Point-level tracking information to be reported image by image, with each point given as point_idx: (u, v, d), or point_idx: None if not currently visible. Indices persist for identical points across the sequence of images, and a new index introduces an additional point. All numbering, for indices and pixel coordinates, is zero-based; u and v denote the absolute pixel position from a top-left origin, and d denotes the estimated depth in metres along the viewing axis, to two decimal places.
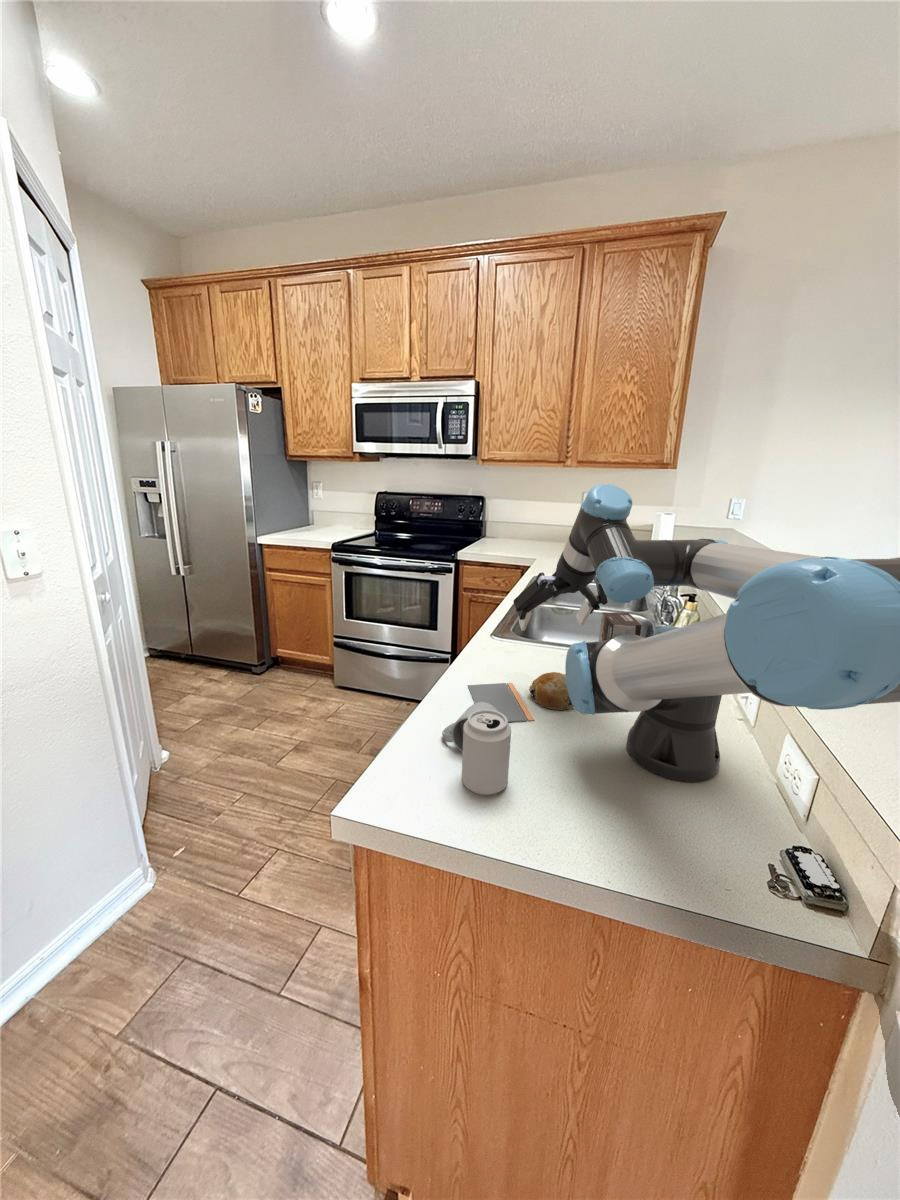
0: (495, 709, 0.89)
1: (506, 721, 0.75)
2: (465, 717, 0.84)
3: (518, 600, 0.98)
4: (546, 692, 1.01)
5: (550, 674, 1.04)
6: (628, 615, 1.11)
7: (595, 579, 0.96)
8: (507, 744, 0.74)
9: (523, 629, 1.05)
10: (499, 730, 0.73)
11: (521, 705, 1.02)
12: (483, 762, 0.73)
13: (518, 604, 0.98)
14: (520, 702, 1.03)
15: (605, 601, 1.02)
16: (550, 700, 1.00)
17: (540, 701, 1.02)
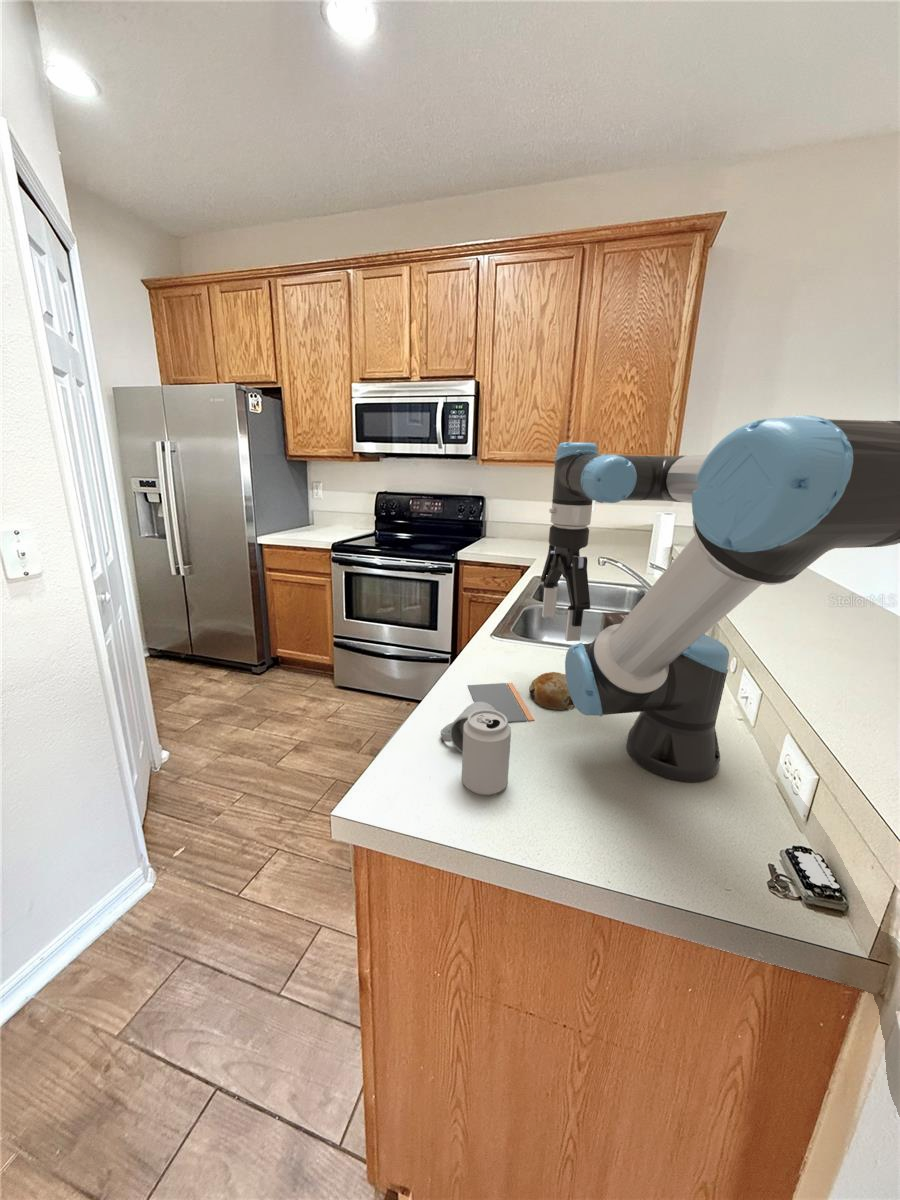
0: (493, 709, 0.89)
1: (506, 721, 0.75)
2: (463, 717, 0.84)
3: (582, 600, 0.89)
4: (545, 692, 1.01)
5: (549, 674, 1.04)
6: None
7: None
8: (507, 744, 0.74)
9: None
10: (499, 730, 0.73)
11: (521, 705, 1.02)
12: (483, 762, 0.73)
13: (586, 601, 0.89)
14: (520, 702, 1.03)
15: None
16: (549, 700, 1.00)
17: (539, 701, 1.02)
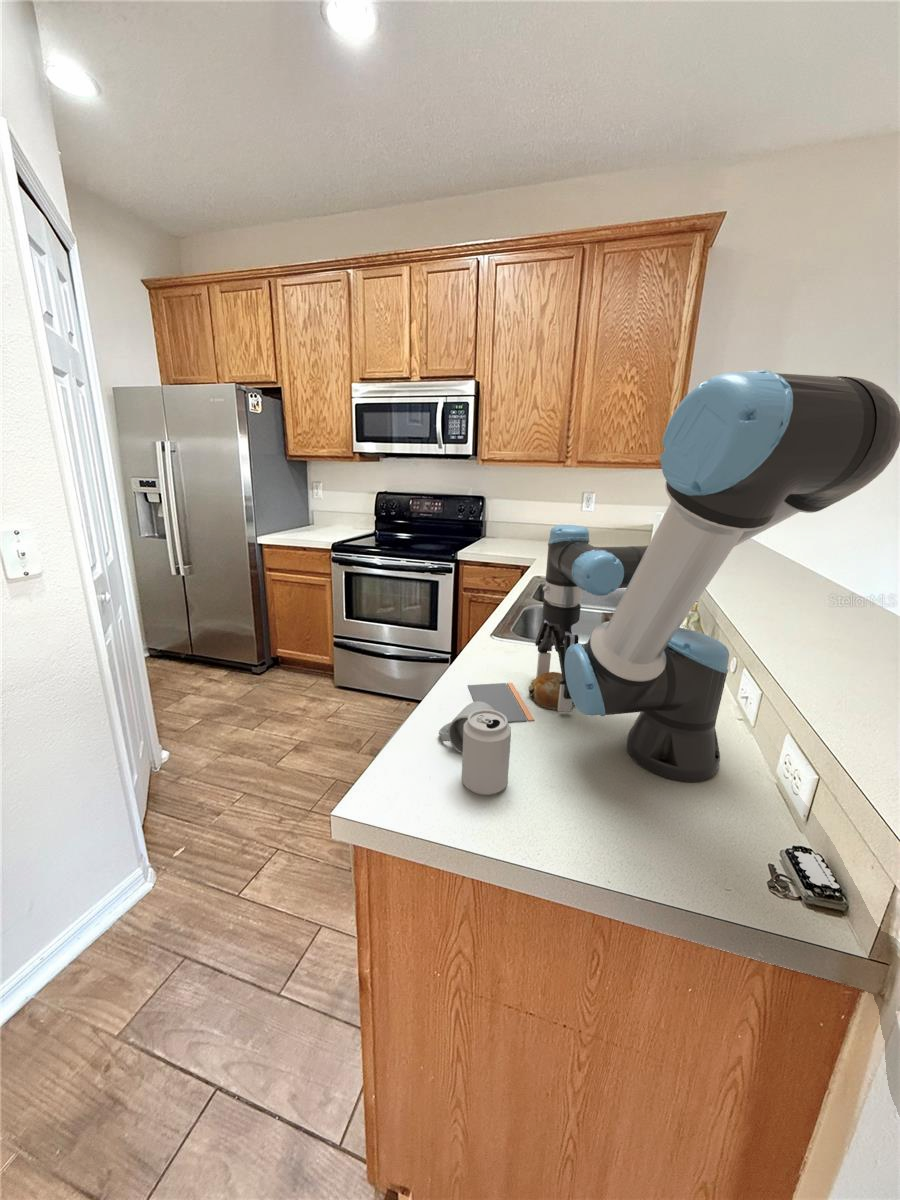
0: (492, 708, 0.89)
1: (506, 721, 0.75)
2: (461, 716, 0.84)
3: None
4: (545, 692, 1.01)
5: (549, 674, 1.04)
6: None
7: None
8: (507, 744, 0.74)
9: None
10: (499, 730, 0.73)
11: (521, 705, 1.02)
12: (483, 762, 0.73)
13: None
14: (520, 702, 1.03)
15: None
16: (549, 700, 1.01)
17: (539, 701, 1.02)
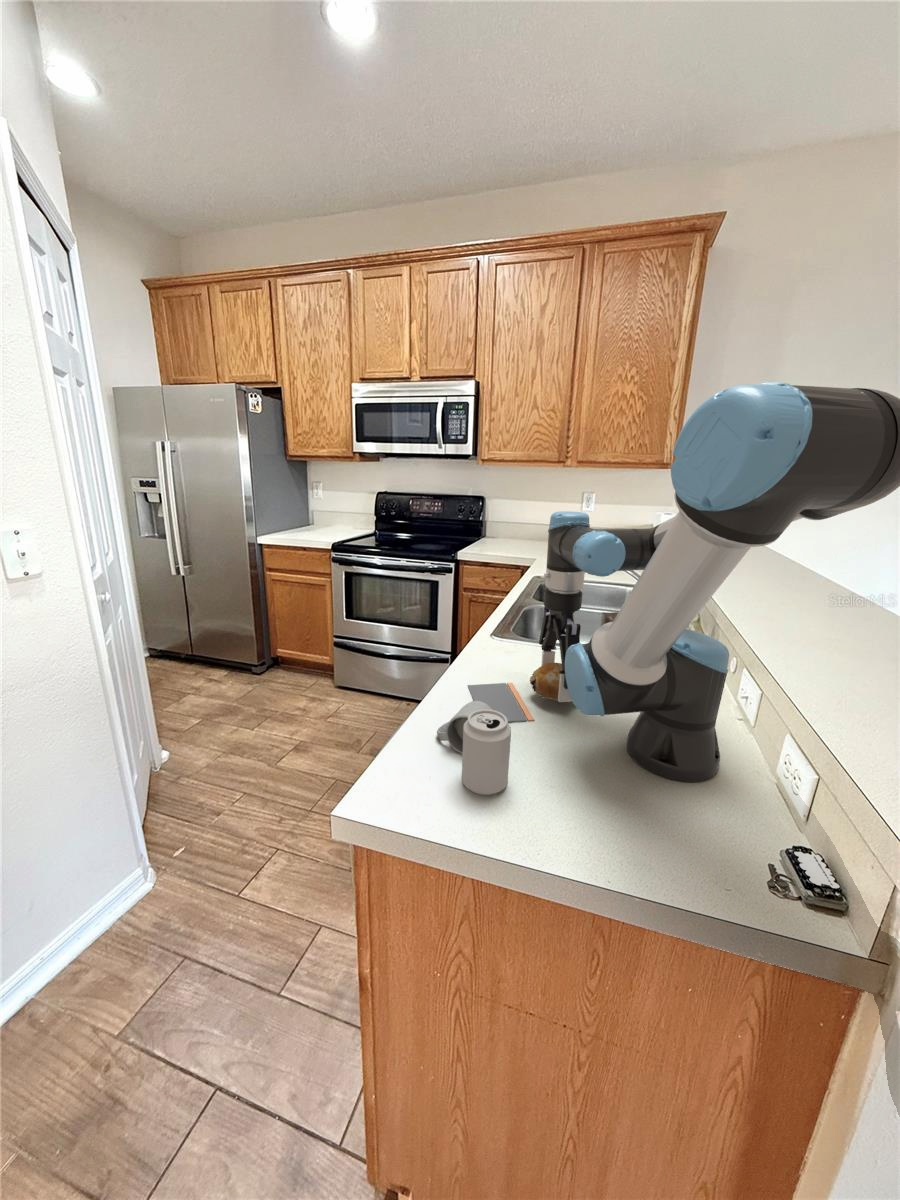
0: (489, 708, 0.89)
1: (506, 721, 0.75)
2: (459, 716, 0.85)
3: None
4: (546, 682, 1.00)
5: (551, 664, 1.03)
6: None
7: None
8: (507, 744, 0.74)
9: None
10: (499, 730, 0.73)
11: (521, 705, 1.02)
12: (483, 762, 0.73)
13: None
14: (520, 702, 1.03)
15: None
16: (551, 690, 0.99)
17: (541, 691, 1.00)
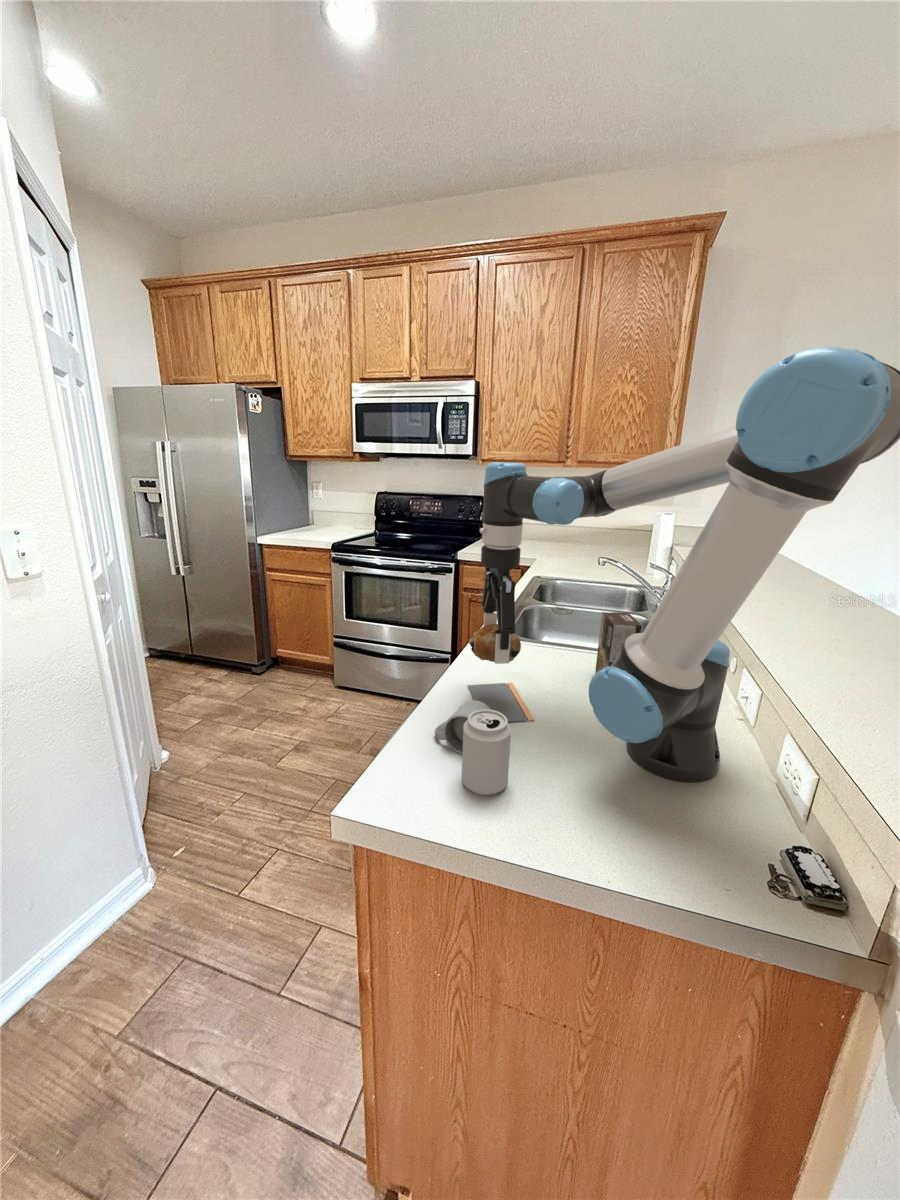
0: (487, 707, 0.89)
1: (506, 721, 0.75)
2: (457, 715, 0.85)
3: (507, 625, 0.89)
4: (483, 643, 0.95)
5: (490, 625, 0.99)
6: (628, 615, 1.11)
7: None
8: (507, 744, 0.74)
9: None
10: (499, 730, 0.73)
11: (521, 705, 1.02)
12: (483, 762, 0.73)
13: (511, 626, 0.90)
14: (520, 702, 1.03)
15: None
16: (487, 651, 0.95)
17: (478, 653, 0.96)
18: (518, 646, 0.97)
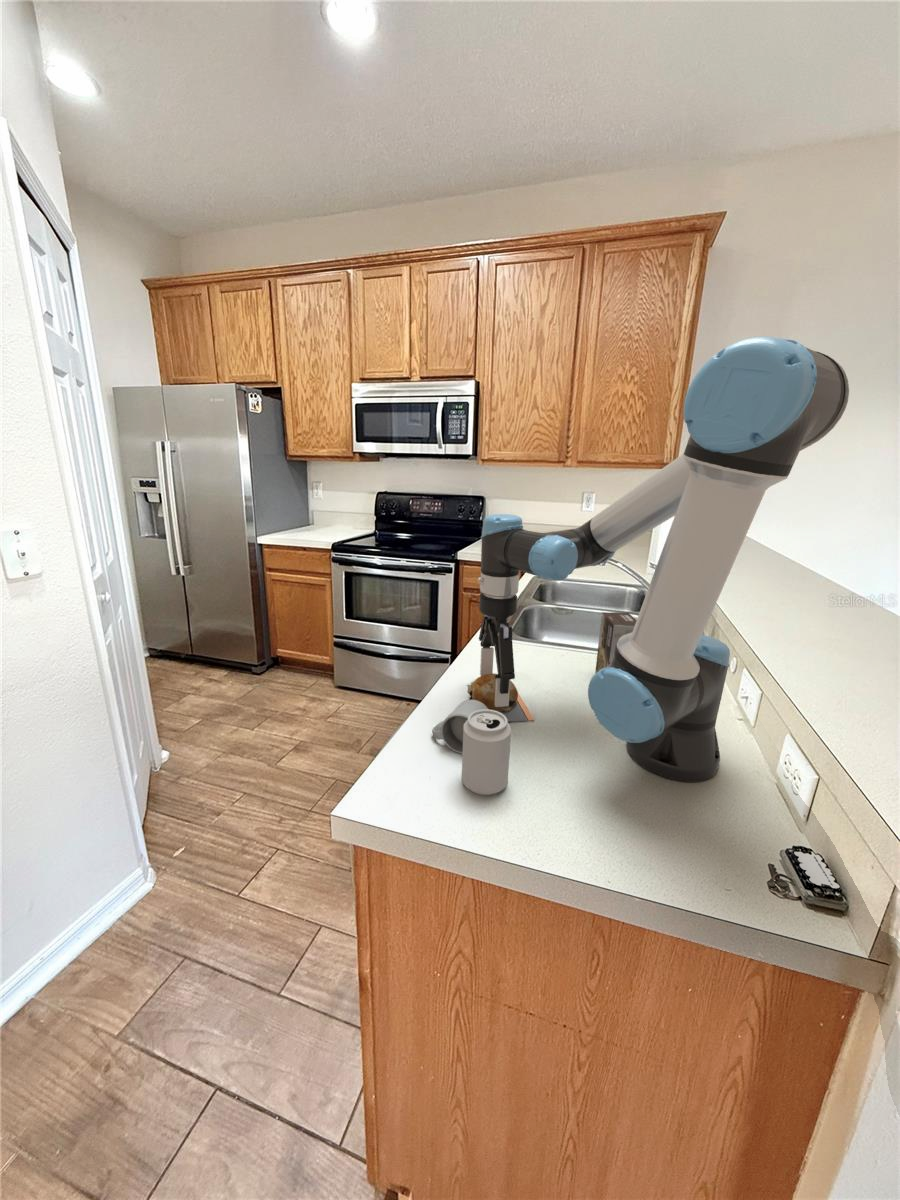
0: (485, 707, 0.90)
1: (506, 721, 0.75)
2: (454, 714, 0.85)
3: (506, 670, 0.91)
4: (481, 694, 0.99)
5: (488, 675, 1.02)
6: (628, 615, 1.11)
7: None
8: (507, 744, 0.74)
9: None
10: (499, 730, 0.73)
11: (521, 705, 1.02)
12: (483, 762, 0.73)
13: (510, 671, 0.91)
14: (520, 702, 1.03)
15: None
16: (485, 702, 0.98)
17: None
18: (515, 696, 1.01)
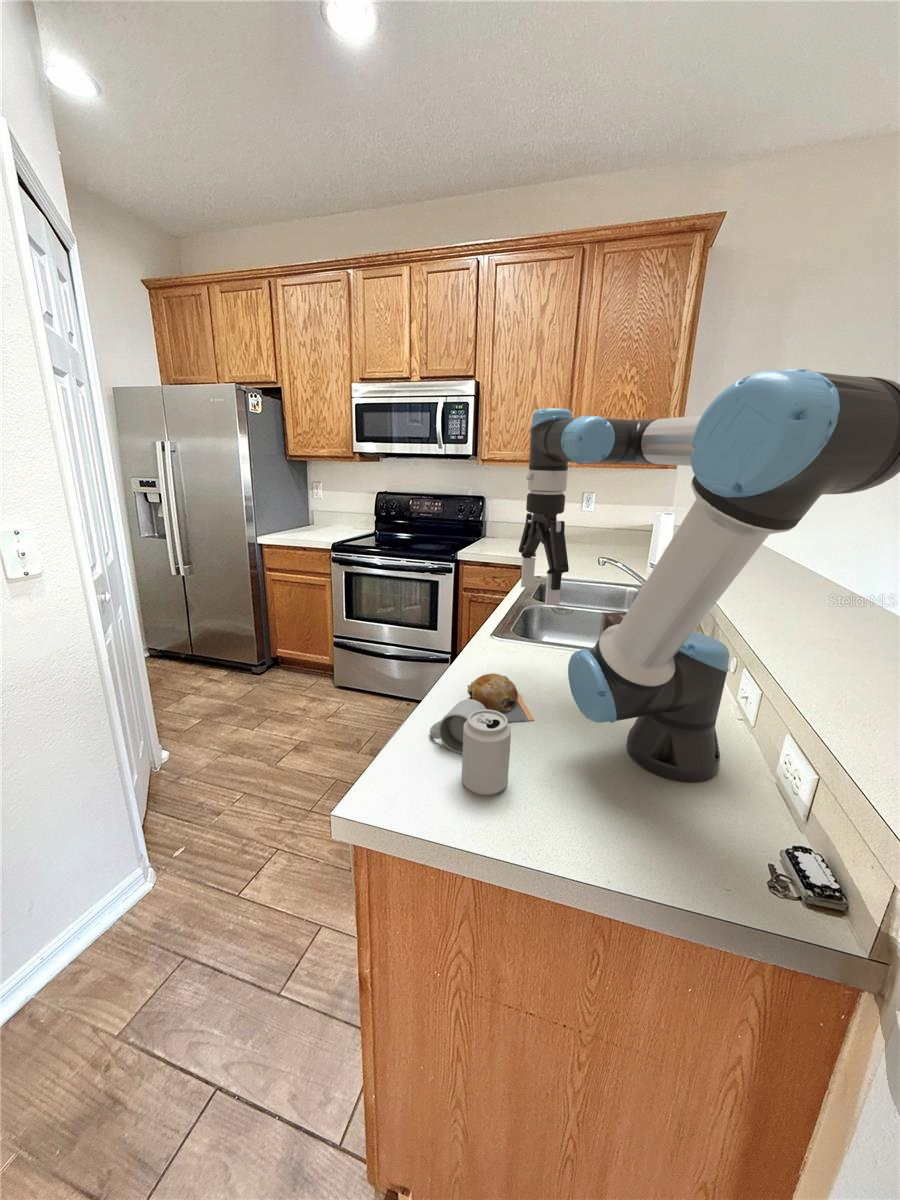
0: (482, 706, 0.90)
1: (506, 721, 0.75)
2: (452, 714, 0.85)
3: (560, 562, 0.91)
4: (481, 694, 0.99)
5: (488, 675, 1.02)
6: None
7: None
8: (507, 744, 0.74)
9: None
10: (499, 730, 0.73)
11: (521, 705, 1.02)
12: (483, 762, 0.73)
13: (564, 564, 0.91)
14: (520, 702, 1.03)
15: None
16: (485, 702, 0.98)
17: None
18: (515, 696, 1.01)
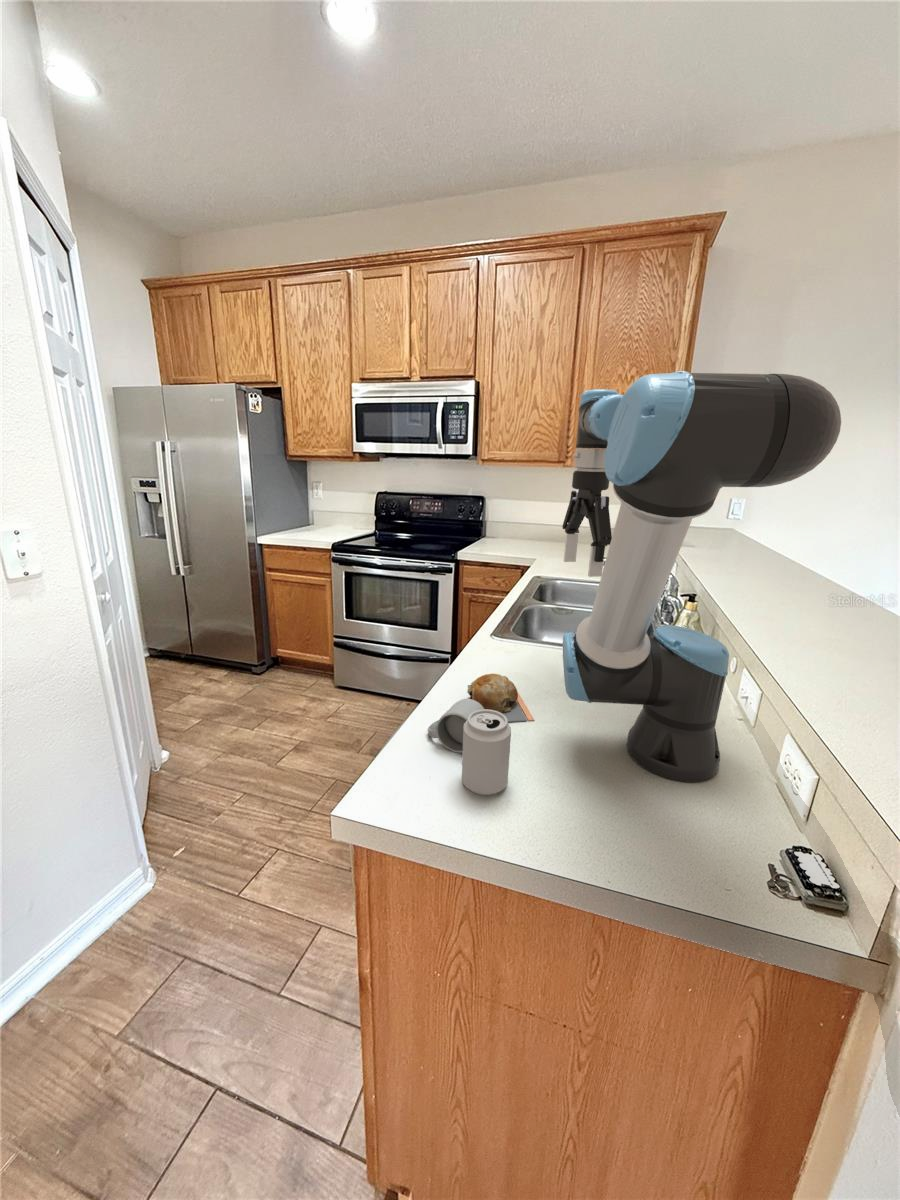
0: (480, 706, 0.90)
1: (506, 721, 0.75)
2: (449, 713, 0.85)
3: (604, 535, 0.96)
4: (481, 694, 0.99)
5: (488, 676, 1.02)
6: None
7: None
8: (507, 744, 0.74)
9: None
10: (499, 730, 0.73)
11: (521, 705, 1.02)
12: (483, 762, 0.73)
13: (608, 537, 0.96)
14: (520, 702, 1.03)
15: None
16: (485, 702, 0.98)
17: None
18: (515, 696, 1.01)
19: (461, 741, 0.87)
